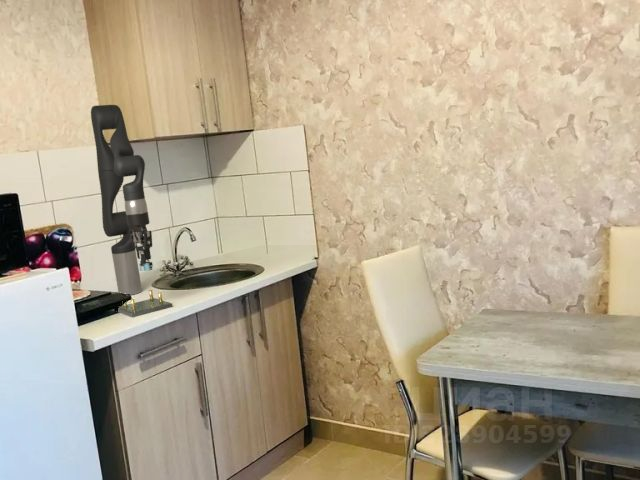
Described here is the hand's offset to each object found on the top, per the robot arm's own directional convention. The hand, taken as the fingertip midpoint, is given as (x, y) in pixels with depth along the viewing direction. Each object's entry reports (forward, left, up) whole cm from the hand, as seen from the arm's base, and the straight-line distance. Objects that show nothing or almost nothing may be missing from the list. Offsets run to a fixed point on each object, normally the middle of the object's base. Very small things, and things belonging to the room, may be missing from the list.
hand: (144, 258), depth 233 cm
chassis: (0, -3, -18) cm, 18 cm away
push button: (+1, 0, -4) cm, 4 cm away
